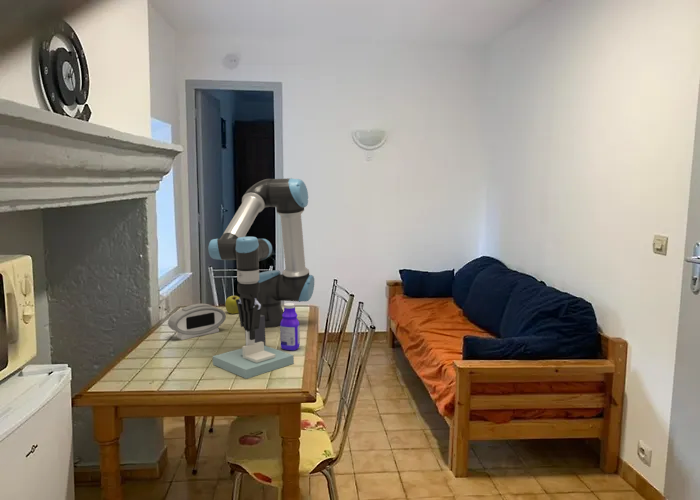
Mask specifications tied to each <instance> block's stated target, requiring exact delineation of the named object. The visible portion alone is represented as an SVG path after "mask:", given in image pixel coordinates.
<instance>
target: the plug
mask: <svg viewBox="0 0 700 500" xmlns="http://www.w3.org/2000/svg"><path fill="white" fill-rule="evenodd" d="M261 341H262V342H264V345H265V346H267V343H266V327H265V316H263V315H260V323H259V329H256V330H255V343H257V342H261Z"/></svg>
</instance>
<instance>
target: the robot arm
mask: <svg viewBox="0 0 700 500" xmlns="http://www.w3.org/2000/svg"><path fill="white" fill-rule="evenodd" d="M308 204H309V192H308V188H307V186H306V183H305V182H304V181H303V180H302V179H299V178H292V177H290V178H266V179H263V180H260V181H258V182H256V183H255V184H253V185H252V186H250V187H249V188H248V189H247V190H246V192H245V193H244V194H243V196H242V197H241V204H240V206H238V209H237V210H236V212H235V214H234V215H233V216H232V217H233V218H232V219H231V220H230V222H229V224H228V225H227V227H226V229H225V230H224V232H223V233H222V235H221V237H220V238H213V239H210V241H209V243H208V246H207V248H208V254H209V257H210V258H211V259H213V260H220V261H236V279H237V286H236V287H237V288H236V289H237V294H239V299H237V300H236V303H237V306H238V312H239V313H238V316H239V323H240V327H241V328H243V329H244V334H245V335H244V336H245V346H246V345H250V344H253V343H255V330H256V329H259V323H260V315H263V316H265V328H275V327H280V323H281V321H282V318H283V317H282V314H283V313H284V309H283V307H282V301H283V302H298V303H300V302H302V303H303V302H309V300H310V299H311V298H312V296H313V293H314V289H315V276H314V275H312V274H310V270H309V268H308V267H306V261H305V260H306V259H305V258H306V257H305V247H304V235H303V222H302V220H303V219H302V214H303V212H304V211H305V208H306V207H307V206H308ZM269 207H271V208H275V210H276V213H277V215H279V216H280V223H281V224H280V225H281V234H282V245H283V257H284V269H283V271H282V272H281V271H280V270H279V269H277V270H275V269H274V270H273V269H272V270H268V271H267V270H266V271H262V272H260V263H259V262H260V261H264V260H266V259H267V258H268V257H270V256H271V254H272V252H273V245H272V243H271V242H270V241H269V240H268V239H266V238H257V237H256V236H247V233H248V232H249V230H250V229H251V226H252V225H253V224H254V221H255V219H256V217H257V216H258V215H259V213H261V212H263V210H264V209H265V208H269Z"/></svg>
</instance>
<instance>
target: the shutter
mask: <svg viewBox="0 0 700 500" xmlns="http://www.w3.org/2000/svg"><path fill="white" fill-rule="evenodd" d="M241 348H242V350H243V358H245V359H248V360H250V361H253V362H255V363H258V362H262V361H265V360H268V359H272V358H275V357H276V354H273V353H270V352H267V351H264V342H262V341H261V342H257V343H253V344H250V345H246V344H245V345H243V346H241Z"/></svg>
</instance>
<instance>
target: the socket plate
mask: <svg viewBox="0 0 700 500" xmlns="http://www.w3.org/2000/svg"><path fill="white" fill-rule="evenodd" d="M264 351H267V352H270V353H273V354H276V357H275V358H272V359H268V360H265V361H262V362H258V363H255V362H253V361H250V360H248V359H245V358H243V350H242V347H241V348H238V349H234V350H230V351H227V352H223V353H219V354H216V355H213V356H212V365H213V366H215V367H217V368H220V369H223V370H225V371H227V372H230V373H232V374H234V375H237V376H238V377H239V376H240V377H242V378H244V379H245V380H246V379H247V380H248V379H250V378H253V377H256V376H259V375H262V374H265V373H269V372H271V371H275V370H279V369H281V368H284V367H287V366H290V365H293V364H294V363H295V360H294V357H295V356H294V355H295V354H290V353H288V352H285V351H282V350H279V349H276V348H274V347H270V346H268V345H266V346H265V345H264Z"/></svg>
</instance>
